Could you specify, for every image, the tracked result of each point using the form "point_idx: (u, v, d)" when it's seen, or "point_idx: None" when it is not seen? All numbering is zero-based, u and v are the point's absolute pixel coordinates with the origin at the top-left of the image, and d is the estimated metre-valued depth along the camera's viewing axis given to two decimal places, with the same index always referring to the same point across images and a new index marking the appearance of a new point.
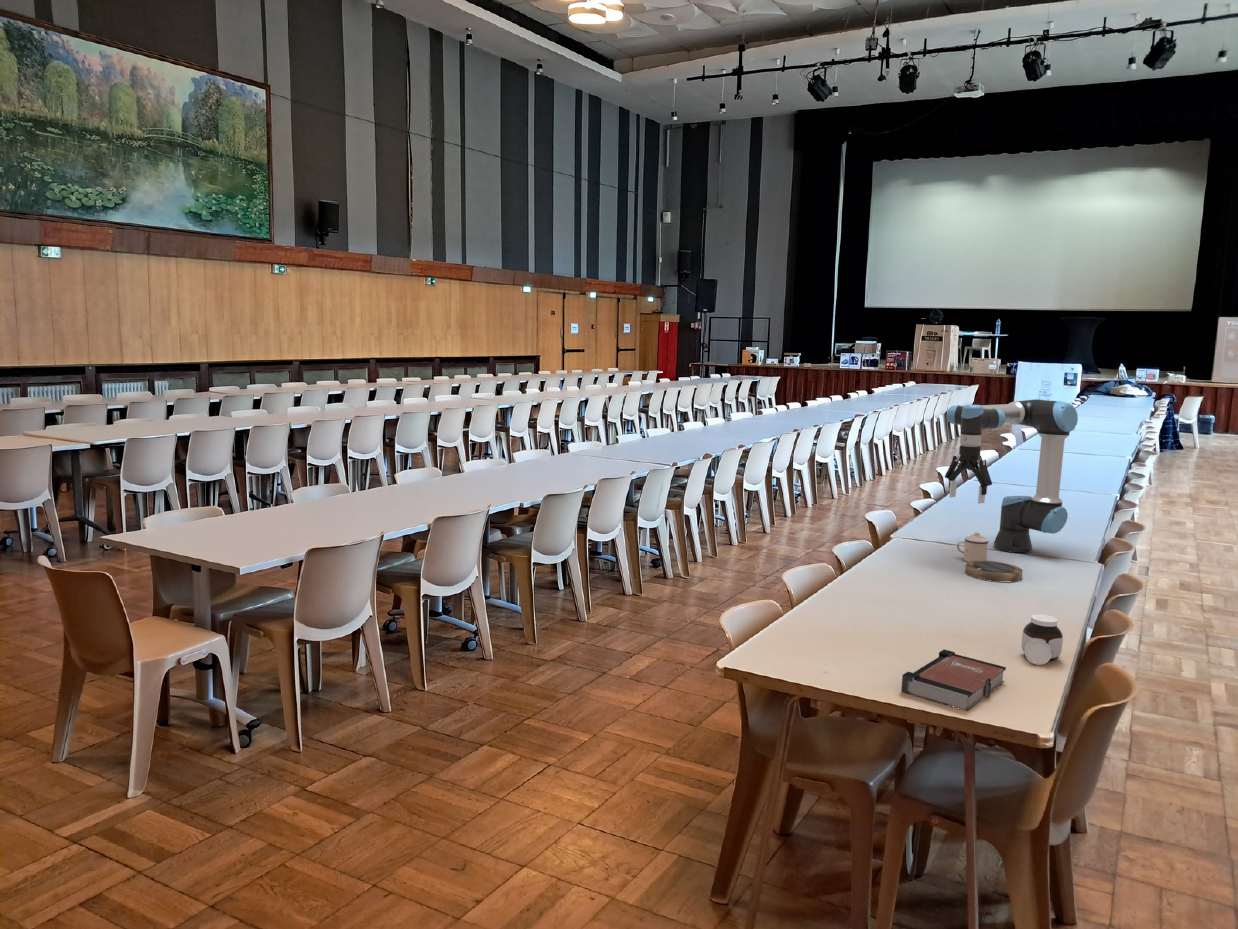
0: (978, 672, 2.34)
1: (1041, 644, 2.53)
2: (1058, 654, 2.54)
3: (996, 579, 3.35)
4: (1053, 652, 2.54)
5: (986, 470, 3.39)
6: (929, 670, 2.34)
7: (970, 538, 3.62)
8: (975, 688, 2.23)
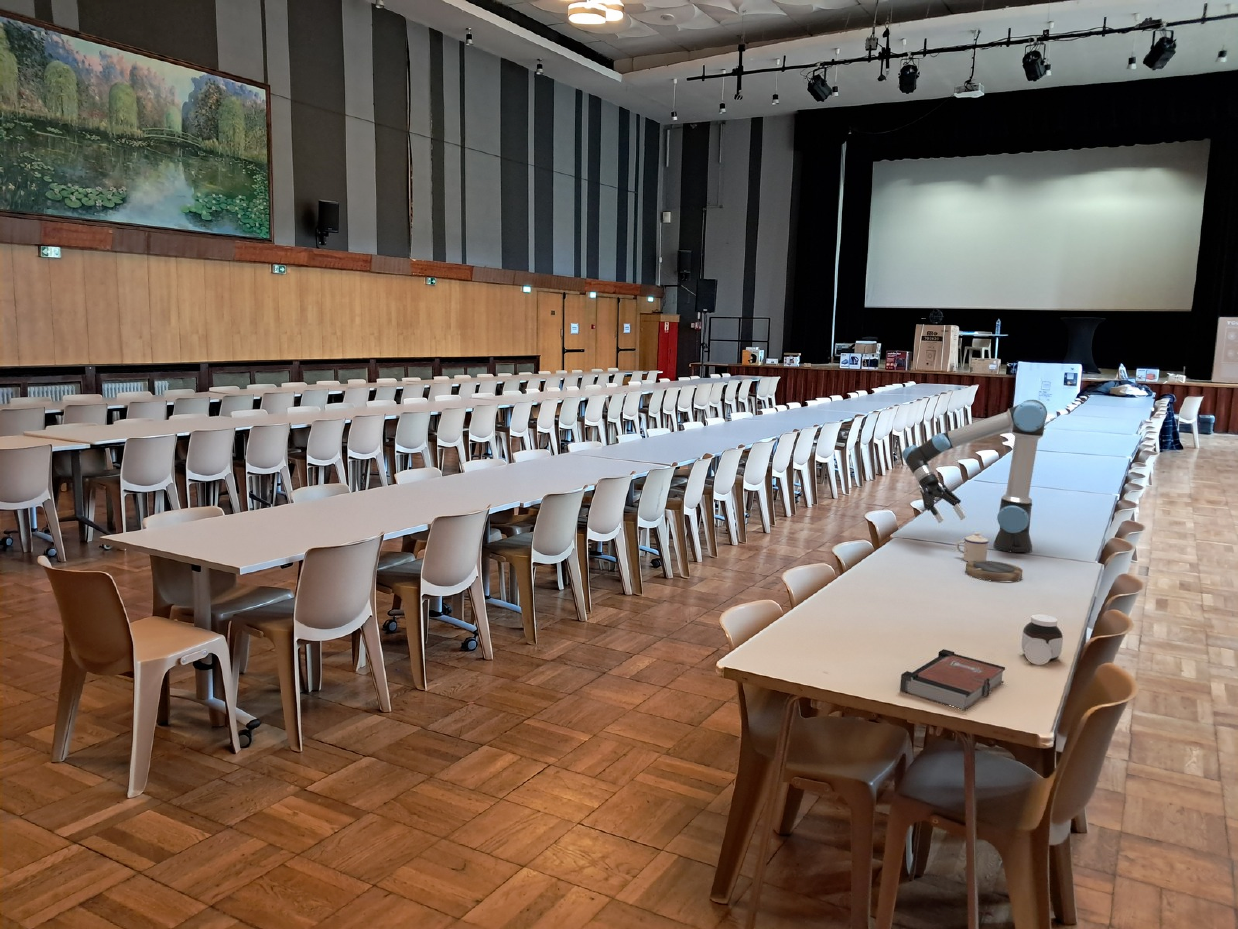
0: (977, 672, 2.34)
1: (1041, 644, 2.53)
2: (1058, 654, 2.54)
3: (996, 579, 3.35)
4: (1053, 652, 2.54)
5: (924, 495, 3.75)
6: (928, 670, 2.34)
7: (970, 538, 3.62)
8: (974, 688, 2.24)
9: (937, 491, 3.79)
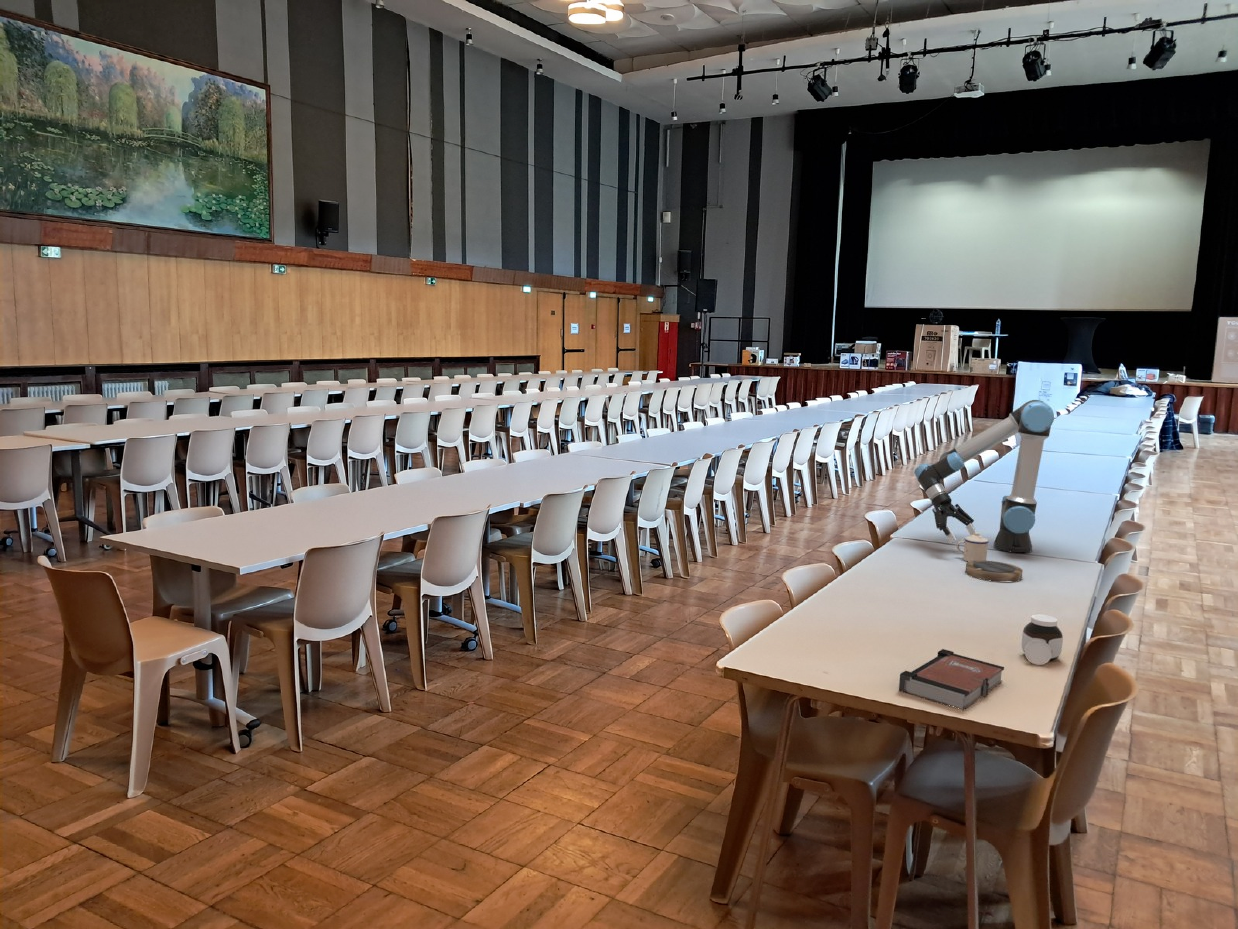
0: (976, 672, 2.34)
1: (1041, 644, 2.53)
2: (1058, 654, 2.54)
3: (996, 579, 3.35)
4: (1053, 652, 2.54)
5: (937, 515, 3.69)
6: (927, 670, 2.35)
7: (970, 538, 3.62)
8: (972, 687, 2.24)
9: (950, 510, 3.73)
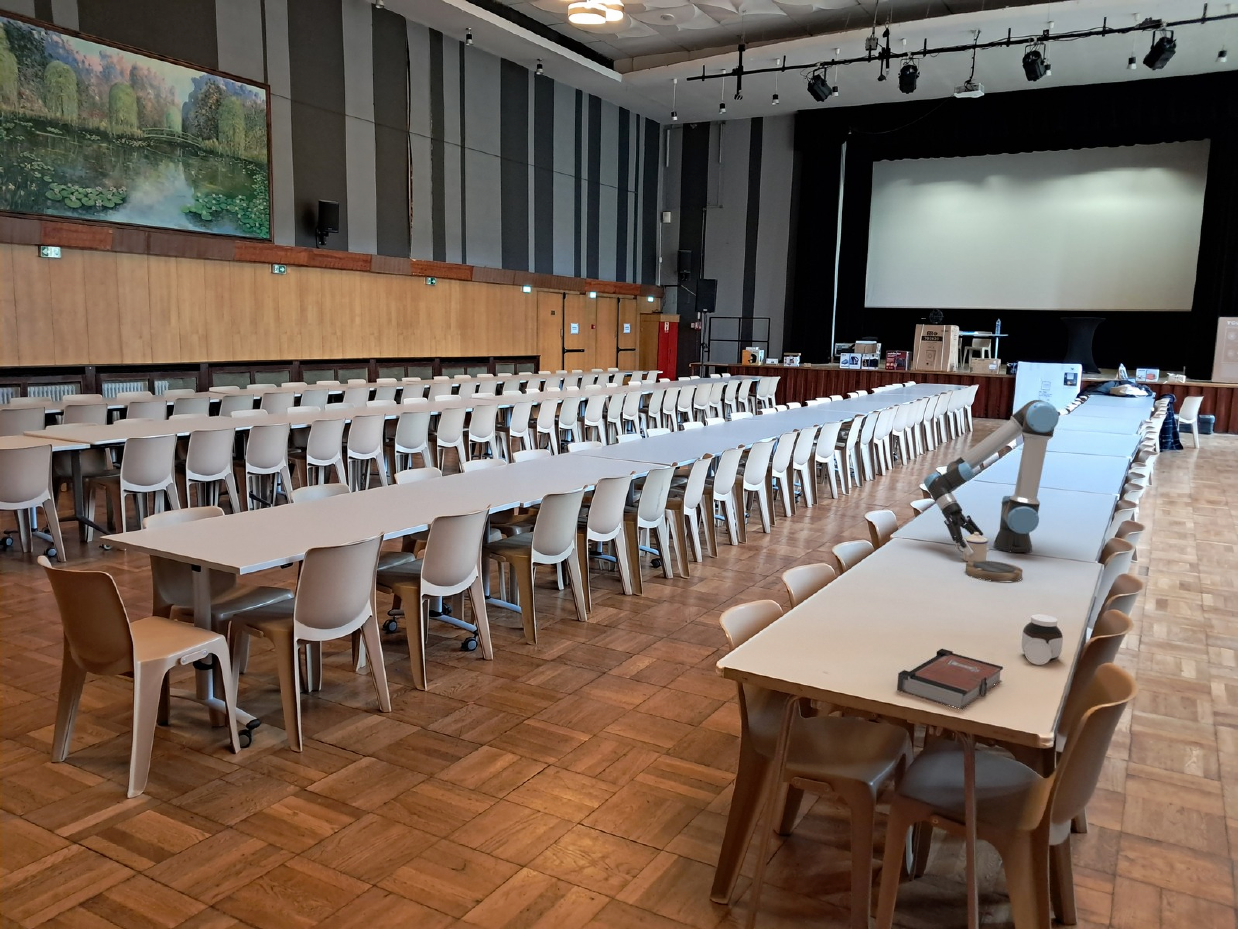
0: (974, 671, 2.35)
1: (1041, 644, 2.53)
2: (1058, 654, 2.54)
3: (996, 579, 3.35)
4: (1053, 652, 2.54)
5: (950, 527, 3.65)
6: (926, 669, 2.35)
7: (969, 538, 3.62)
8: (970, 687, 2.24)
9: (960, 520, 3.69)
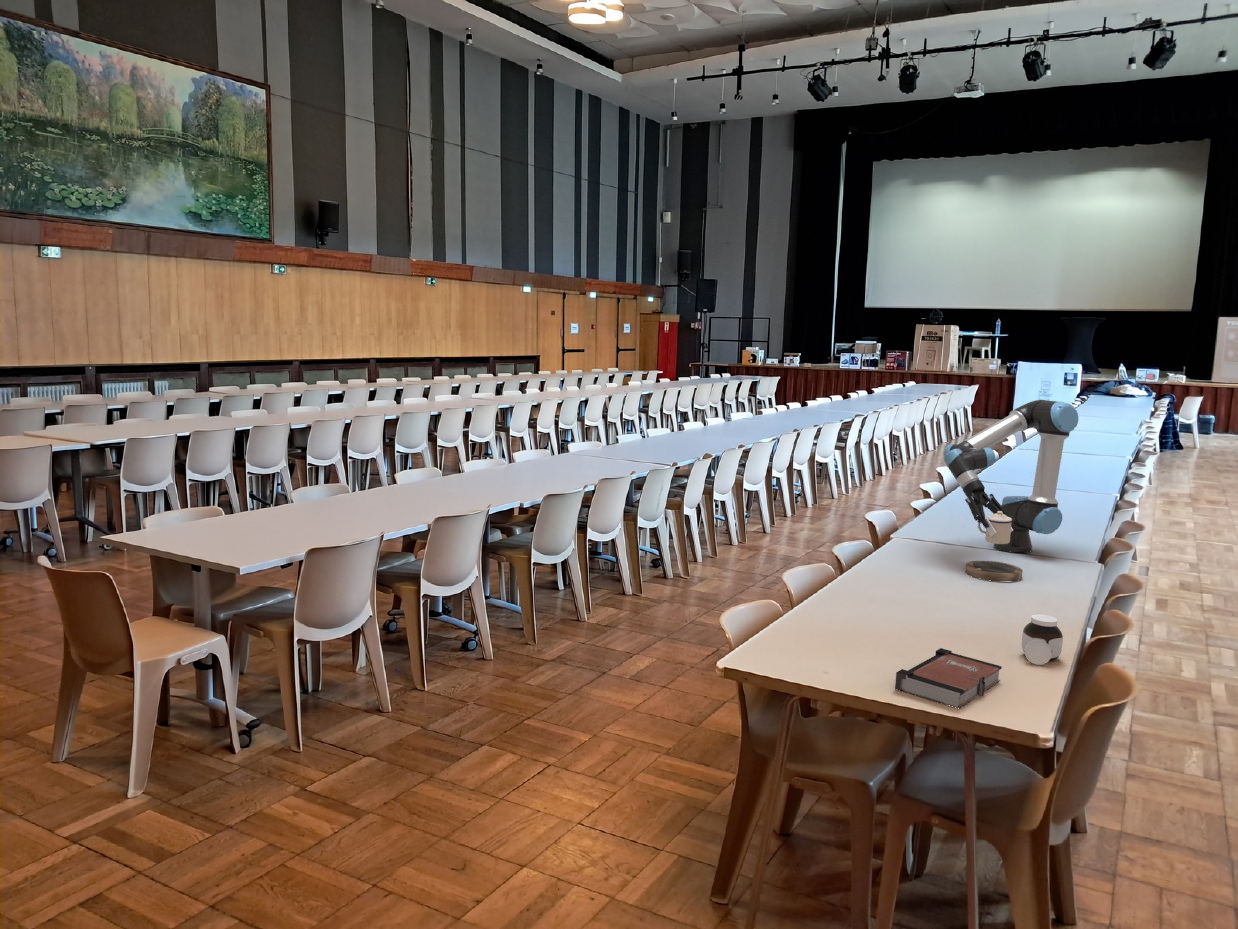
0: (972, 670, 2.35)
1: (1041, 644, 2.53)
2: (1058, 654, 2.54)
3: (996, 579, 3.35)
4: (1053, 652, 2.54)
5: (972, 505, 3.42)
6: (924, 668, 2.36)
7: (992, 517, 3.39)
8: (968, 686, 2.24)
9: (983, 499, 3.46)
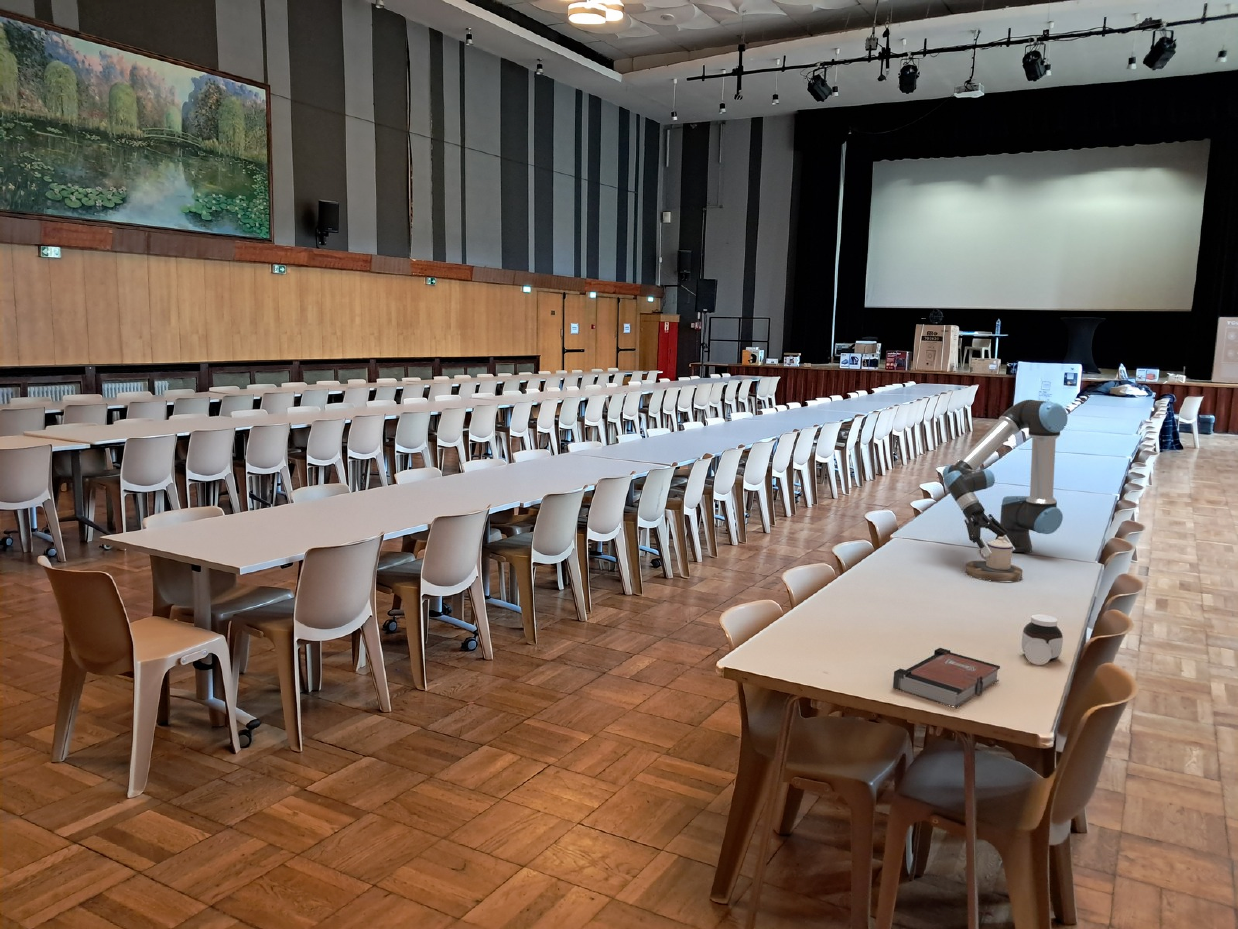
0: (971, 670, 2.35)
1: (1041, 644, 2.53)
2: (1058, 654, 2.54)
3: (996, 579, 3.35)
4: (1053, 652, 2.54)
5: (969, 526, 3.43)
6: (922, 668, 2.36)
7: (993, 543, 3.40)
8: (965, 686, 2.25)
9: (983, 521, 3.47)
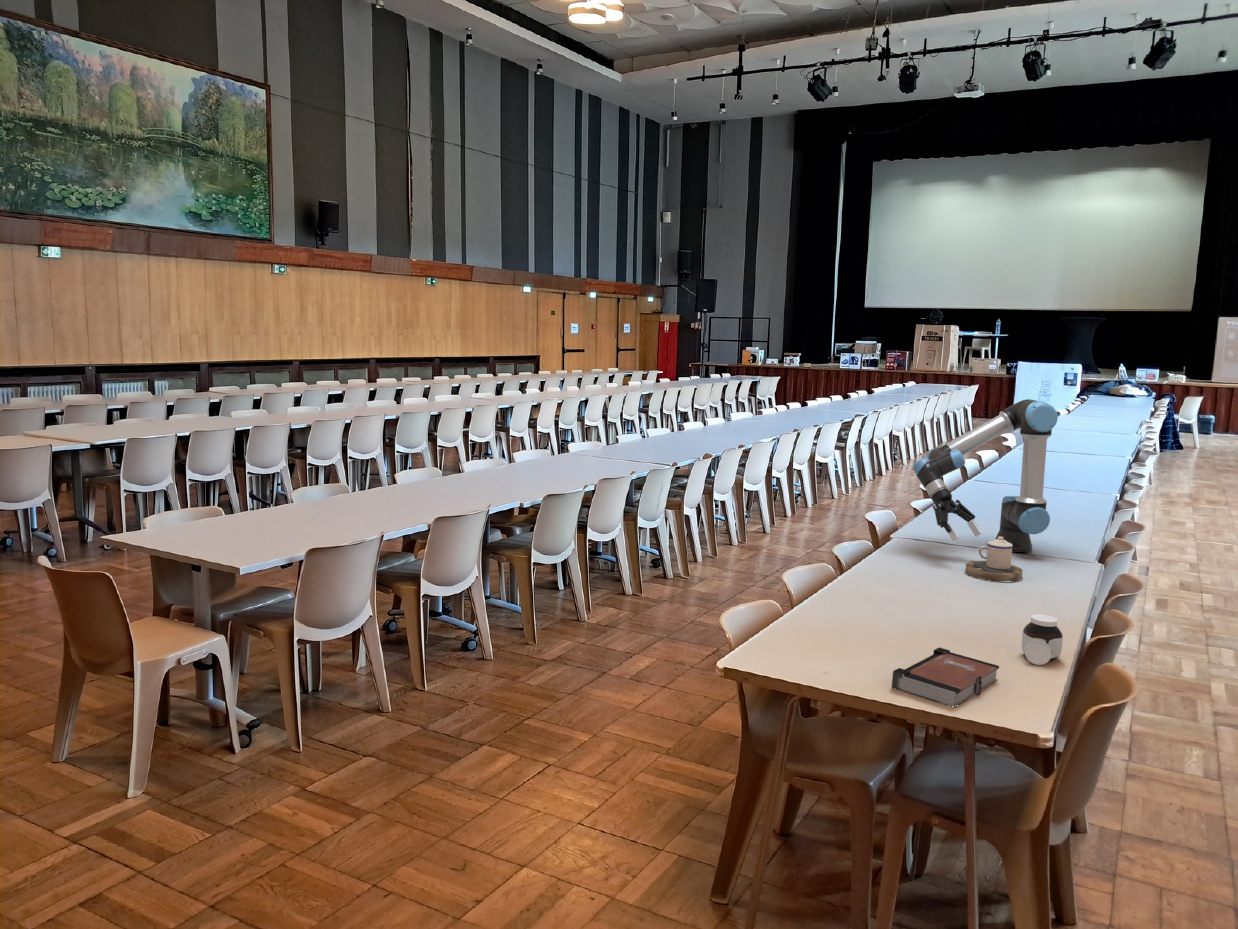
0: (970, 670, 2.35)
1: (1041, 644, 2.53)
2: (1058, 654, 2.54)
3: (996, 579, 3.35)
4: (1053, 652, 2.54)
5: (937, 511, 3.56)
6: (921, 667, 2.36)
7: (993, 543, 3.41)
8: (964, 685, 2.25)
9: (950, 506, 3.60)
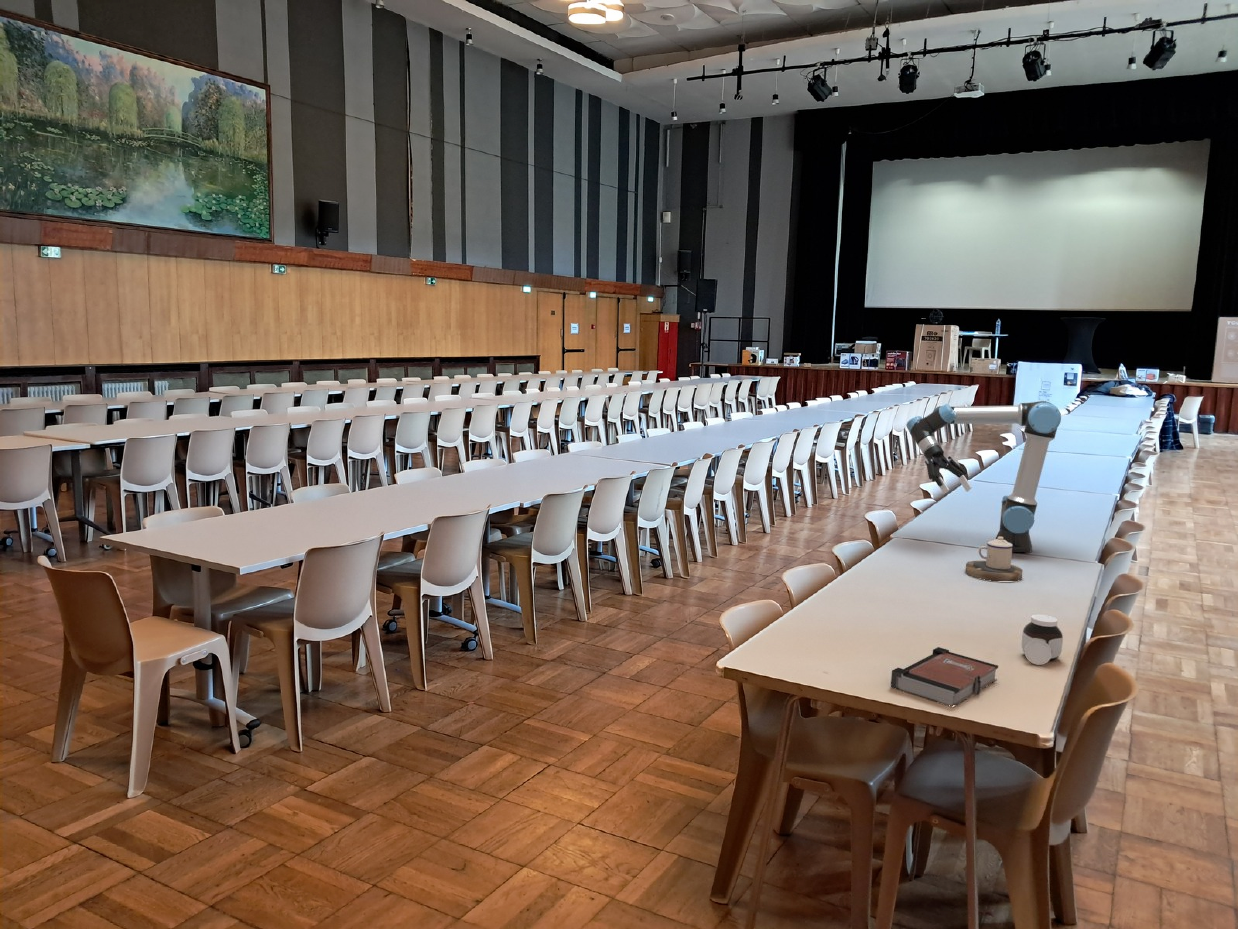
0: (969, 670, 2.36)
1: (1041, 644, 2.53)
2: (1058, 654, 2.54)
3: (996, 579, 3.35)
4: (1053, 652, 2.54)
5: (929, 466, 3.68)
6: (920, 667, 2.36)
7: (993, 543, 3.41)
8: (963, 685, 2.25)
9: (942, 462, 3.72)
